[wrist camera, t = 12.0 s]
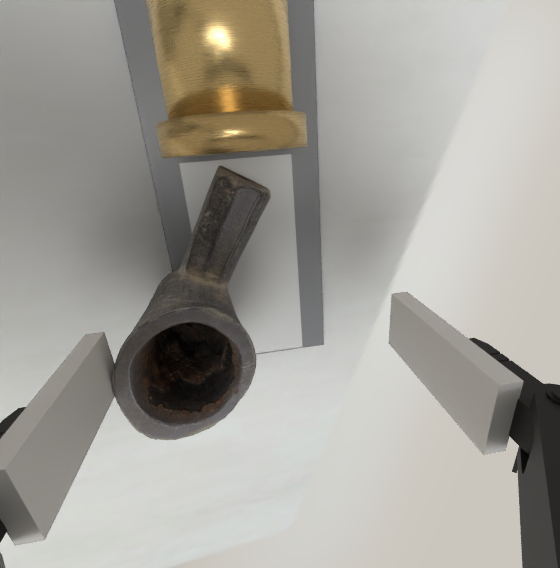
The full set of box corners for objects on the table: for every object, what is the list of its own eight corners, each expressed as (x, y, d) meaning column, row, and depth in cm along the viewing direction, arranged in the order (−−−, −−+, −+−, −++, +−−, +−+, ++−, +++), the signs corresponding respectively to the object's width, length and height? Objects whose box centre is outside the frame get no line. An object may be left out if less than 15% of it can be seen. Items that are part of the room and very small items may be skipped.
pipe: (277, 191, 20) (332, 218, 13) (207, 357, 23) (221, 448, 16) (181, 147, 18) (187, 151, 11) (117, 339, 21) (89, 439, 14)
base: (117, -5, 16) (109, -17, 15) (308, -11, 17) (313, -22, 16) (193, 355, 25) (192, 365, 24) (320, 337, 26) (324, 345, 25)
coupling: (146, 3, 16) (87, -103, 10) (285, -2, 17) (318, -103, 10) (174, 158, 19) (144, 158, 13) (293, 148, 20) (324, 143, 13)
